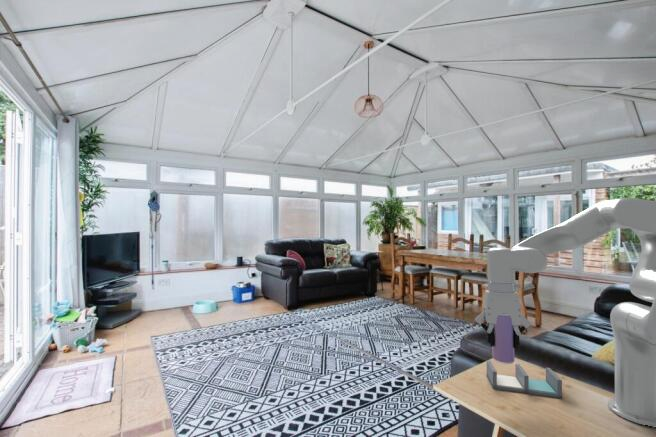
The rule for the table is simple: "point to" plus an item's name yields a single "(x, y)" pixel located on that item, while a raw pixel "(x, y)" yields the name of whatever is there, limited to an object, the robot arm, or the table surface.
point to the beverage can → (503, 340)
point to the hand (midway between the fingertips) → (502, 345)
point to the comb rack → (525, 382)
